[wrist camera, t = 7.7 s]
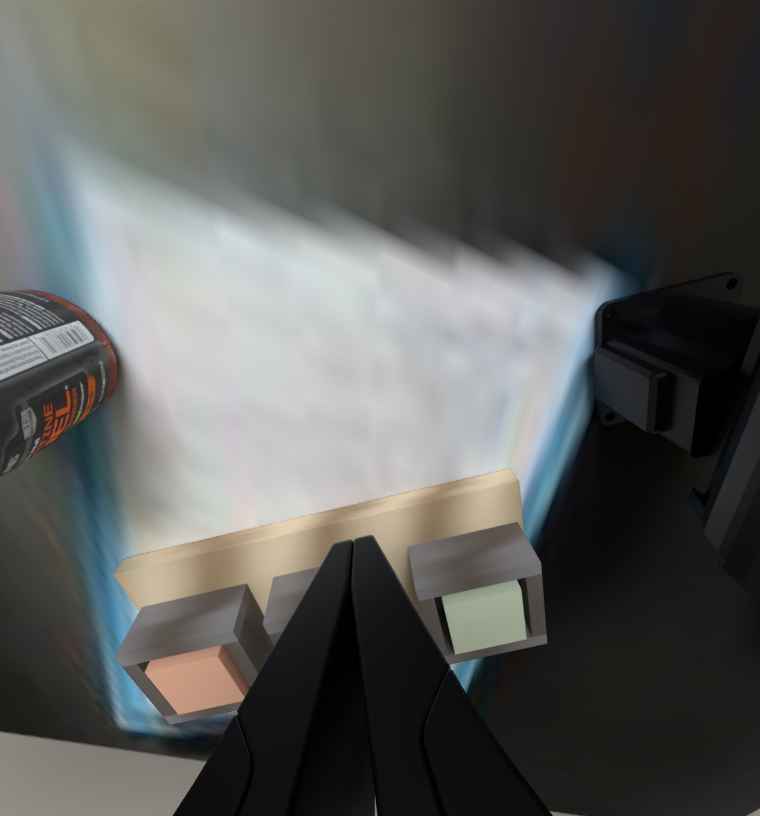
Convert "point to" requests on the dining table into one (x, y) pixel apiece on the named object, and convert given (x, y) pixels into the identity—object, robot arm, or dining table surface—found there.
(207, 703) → the button terracotta
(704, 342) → the robot arm
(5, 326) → the supplement bottle
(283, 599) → the button panel
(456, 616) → the button sage
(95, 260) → the dining table surface
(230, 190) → the dining table surface
